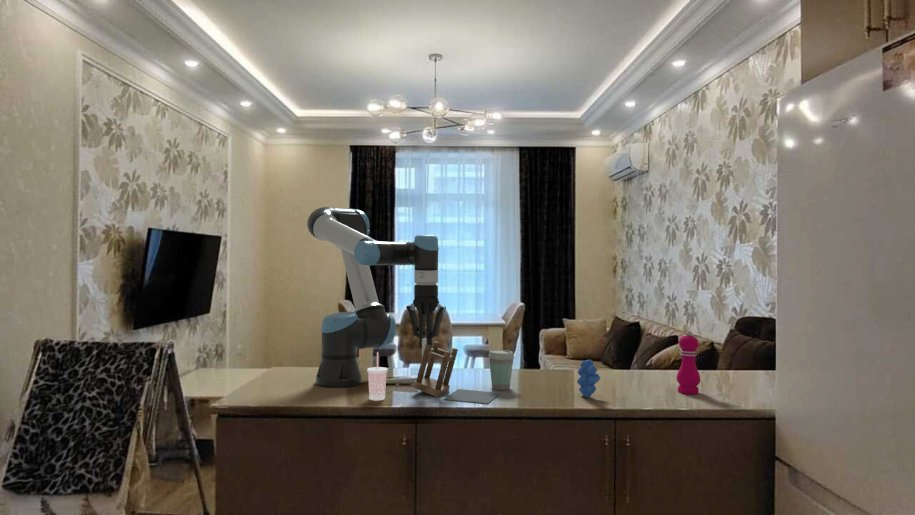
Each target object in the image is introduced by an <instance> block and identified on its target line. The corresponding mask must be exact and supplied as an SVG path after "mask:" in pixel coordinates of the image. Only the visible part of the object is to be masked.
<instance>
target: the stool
mask: <svg viewBox="0 0 915 515" xmlns="http://www.w3.org/2000/svg"><path fill="white" fill-rule="evenodd" d="M439 345H440V342H438V341H435V340H434V341H433V342H432V348H431V345H429V344H426V346H425V350H424V354H423V357H422V356H421V361H420V365H419V369H418V373H417V377H416V380H414V381H413V384H412V388H413V389H415V390H419V391H421V392H424V393H426V394H429V395H432V396H433V397H436V398H439V397H442V396H443V395H444V394H446V393H448V392H449V391H450V387H451V385H450V381H451V377H452V373H453V369H454V366H455V362H456V359H457V355H458V350H459V349H458V348H456V347H452V349H451V351H447V350H444V349H442V348H439ZM428 357H430V358H429V359H428ZM435 360H438V361H440V362H441V365H440V369H439V373H438V376H437V379H435V378H432V377H431V374H432V371H433V367H434V363H435Z"/></svg>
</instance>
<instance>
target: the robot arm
mask: <svg viewBox="0 0 915 515" xmlns="http://www.w3.org/2000/svg"><path fill="white" fill-rule="evenodd" d="M306 222H307V224H306V225H307V230H308V232H309V233H310V234H311V236H312V237H314V238H316V239H317V240H319V241H323V242H327V241H328V242H329V243H331V244H333V245H334V246H335V248H337V249H339V250H340V252H341V254H342V259H343V264H344V268H345V271H346V276H347V279H348V280H347V281H348V284H349V288H350V292H351V295H352V300H353V305H354V310H353V311H343V312H342V311H341V312H335V313H330V314H327V315H325V316H324V317H323V319H322V322H321V328H320V330H321V361H320V363H319V366H318V370H317V373H316V376H315V384H316V385H318V386H320V387H325V388H326V387H328V388H344V387H346V388H347V387H352V386H353V387H354V386H358V385H360V384H362V381H363V380H362V373H361V370H360V366H359V363H358V357H357V356H358V355H357V352H358V350H362V349H363V350H365V349H372V348H373V349H374V348H378V349H379V348H381V347H386V346H388V345H390V344H391V343H392V341H393V340H394V339H395V335H396V331H397V322H396V319H395V316H393V315H392V314H391V313H388V312H386V309H385V305H383V304H381V303H379V298H378V295H377V291H376V290H377V289H376V286H375V282H374V279H373V275H372V271H371V268H370V266H414V269H413V270H414V278H413V279H414V280H413V281H414V286H413V288H414V289H413V292H414V293H413V295H414V297H413V298H414V299H413V301H412V303H410V304H409V305H406V307H405V308H406V310H407V311H408V315H409V319H410V323H411V324H410V325H411V328H412V332H413V336H415V337H418V339H419V346H418V347H419V349H421V358H422V357H423V354H424V350H425V346H426V344H429V345H431V348H432V346H433V338H434V337H437V336H438V335H439V332H440V329H441V323H442V319H443V315H444V313H445V311H446V309H447V308H446V306H443V305H442V304H441V303H440V300H439V286H438V285H437V284H438V283H439V250H440V248H439V239H438V237H437V236H436V235H434V234H432V235H431V234H428V235H427V234H419V235H415V236H414V241H381V240H380V241H379V240H376V239H374V238H372V237H371V236H369V234H370V228H371V227H370V220H369V217H368V216H367V215H366V213H365V212H364V211H362V210H360V209H357V208H356V209H355V208H351V207H350V208H342V207H331V206H324V207H323V206H321V207H319V208H317V209H315V210H313V211H312V212H311V213H310V214H309V217H308V218H307V221H306ZM435 310H436V311H437V312H436V315H435V318H434V312H435ZM416 312H418V313H416ZM417 314H418V317H417ZM429 358H430V357H428V360H429Z"/></svg>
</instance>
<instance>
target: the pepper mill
mask: <svg viewBox="0 0 915 515" xmlns="http://www.w3.org/2000/svg"><path fill="white" fill-rule="evenodd" d="M692 334H693V333H692V331H691V330H687V331H685V335H683V336H681V337H680V339H679V340H678V345H679V348H680V355H681V365H680V367H679V369H678V371H677V373H676V378H675V379H676V381H677V383H678V384H679V385H678V386H677V392H678V393H679V392H681V393H680V394H683V393H685V394H684V395H691V394H694V395H698V394H699V390H700V389H699V386H698V385H699V384H700V383H701V376H700V373H699V371H698V367H697V364H696V356H698V354H697V353H698V351H697V349H698V348H699V346H700V342H699V339H698V338H697V337H696V336H694V335H692ZM697 393H698V394H697Z"/></svg>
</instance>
